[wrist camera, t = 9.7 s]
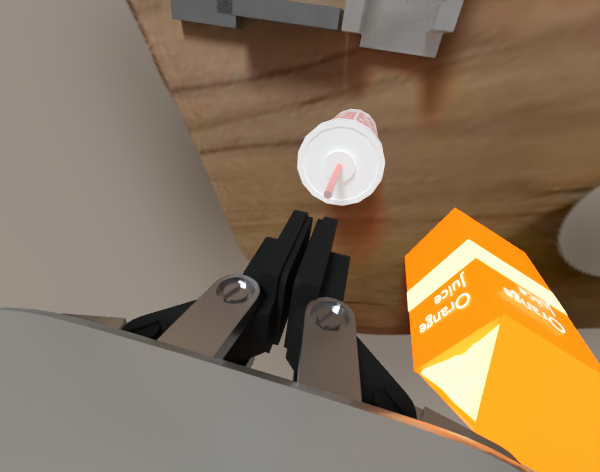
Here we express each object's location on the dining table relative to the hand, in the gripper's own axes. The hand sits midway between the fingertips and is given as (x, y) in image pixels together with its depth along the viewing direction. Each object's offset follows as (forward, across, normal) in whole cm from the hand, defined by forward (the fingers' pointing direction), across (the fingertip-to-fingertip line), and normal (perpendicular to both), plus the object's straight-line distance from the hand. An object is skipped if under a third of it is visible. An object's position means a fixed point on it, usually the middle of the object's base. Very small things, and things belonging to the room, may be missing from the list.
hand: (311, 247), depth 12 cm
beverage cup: (+20, 0, 0) cm, 20 cm away
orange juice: (+20, -14, +10) cm, 26 cm away
